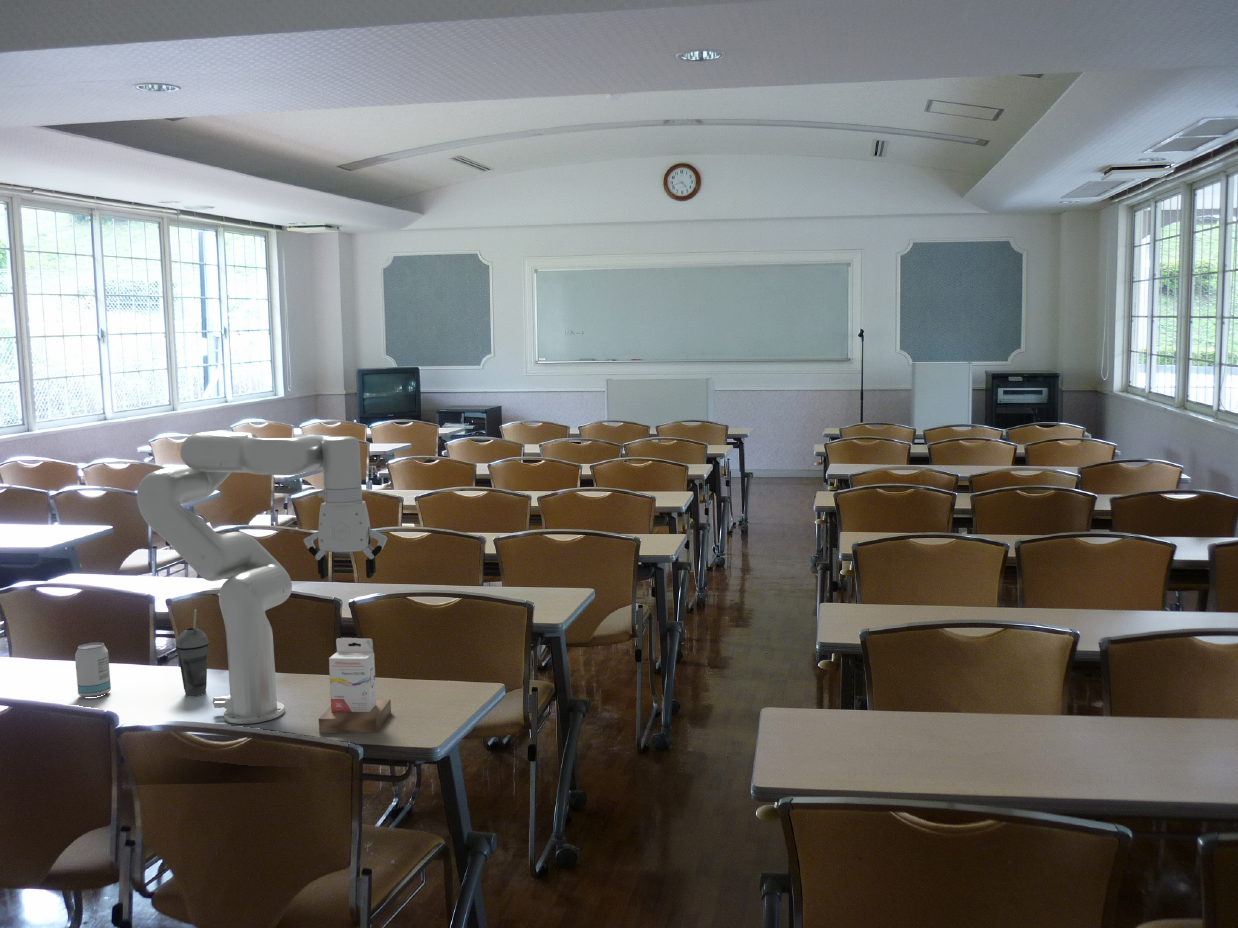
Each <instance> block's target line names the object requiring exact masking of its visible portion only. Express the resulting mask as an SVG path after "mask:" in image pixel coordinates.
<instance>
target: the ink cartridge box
mask: <svg viewBox="0 0 1238 928" xmlns="http://www.w3.org/2000/svg"><path fill="white" fill-rule="evenodd" d="M335 642H336V643H335V644H336V645H335V646H336V652H335V653H334V654H332V655H331V656H330V657H328V663H329V664H328V666H329V667H328V669H329V672H328V673H329V689H330V690H329V694H330V706H331V711H332V712H370V711H371V710H372V709H373V708H374V707H375V705H376V699H377V688H376V686H377V685H376V667H375V666H376V665H375V662H376V661H375V653H374V643H373V638H353V637H352V638H350V637H349V638H348V637H347V638H339V637H338V638H336V639H335ZM354 643H355V644H357V645H358V644H360V646H359V645H358V646H357V645H356V646H355V645H354V646H353V645H351V644H354ZM350 645H351V646H350Z"/></svg>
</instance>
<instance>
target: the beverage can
mask: <svg viewBox="0 0 1238 928" xmlns="http://www.w3.org/2000/svg"><path fill="white" fill-rule="evenodd" d="M74 658H75V659H74V661H75V669H76V671H75V672H76V684H77V686H76V687H77V694H78V696H80V697H82V698H84V697H97V696H101V695H104V694H106V693H107V694H108V693H109V692H110V691H111V690H112V687H111V685H112V684H111V673H110V659H109V650H108V649H107V647H106V646H105V643H104V642H89V643H83V644H81V645H79V646H77V649H76V652H75V655H74ZM107 694H106V695H107Z"/></svg>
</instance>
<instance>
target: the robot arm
mask: <svg viewBox="0 0 1238 928" xmlns="http://www.w3.org/2000/svg"><path fill="white" fill-rule="evenodd" d="M360 449H361V447H360V441H359V440H358V438H357V437H355V436H348V435H346V436H327V435H326V436H325V435H319V434H311V435H305V436H303V435H302V436H295V437H289V438H259V437H258V435H256V433H253V432H233V431H230V430H228V429H227V430H225V429H221V430H220V429H219V430H212V431H211V430H210V431H202V432H197V433H194V434H191V435H190V436H188V437H187V438H185V440H184V441H183V442H182V445H181V446H180V449H179V451H180V453H179V454H180V458H181V460H182V462H183V464H185V465H179V466H171V467H165V468H161V469H157V470H154V471H152V472H150V473H148V474H146V476H144V477H143V478H142V479H141V481H140V482H139V485H138V487H137V494H136V502H137V505H138V510H139V512H140V514H141V516H142V518H143V520H144V521H145V522H146V524H147V525H148V526H149V527H150V528H151V529H152V530H153V531H154V532H155V533H157V535H159V537H161V538H162V539H164V541H166V542H167V543H168V544H169V545H170V546H171V547H172V548H173V550H175V552H176V553H177V554H178V555H179V556H180V557H181V558H182V559H183V561H185V562H186V563H187V565H189V566H190V568H192V570H194V572H196V574H198V575H199V576H200V577H201V578H202V579H204V580H205V581H209V582H218V581H221V580H224V579H227V578H228V579H227V580H226V581H225V582H224V583H223V584H222V585H221V587H220V590H219V593H218V601H219V607H220V610H221V615H222V618H223V622H224V628H225V641H226V650H227V651H226V652H227V653H226V654H227V664H228V678H229V679H228V680H229V681H228V684H229V695H227V696H222V695H221V696H219V695H217V696H214V697H213V698H212V704H213V706H214V707H213V708H215V709H217V708H218V709H220V708H224V709H225V711H224V713H223V718H224V720H225V722H228V723H230V724H236V725H247V724H248V725H249V724H259V723H263V722H267V721H271V720H274V719H276V718H279V717H280V716H282V715H283V714H284V713H285V711H286V706H285V704H284V703H282V702H280V701H278V698H277V681H276V679H277V678H276V667H275V666H276V664H275V663H276V662H275V651H274V649H275V648H274V647H275V646H274V636H273V634H274V633H273V628H272V625H271V624H270V621H269V619H268V617H267V614H266V611H268V610H269V609H272V608H273V609H274V608H275V607H277V606H279V605H282V604H283V603H285V602H286V601H287V600H288V599H289V597H290V596H291V593H292V589H293V586H292V585H293V584H292V580H291V577H290V574H289V573H288V572H287V570H286V568H285V567H284V566H283V565H281V564H280V562H279V561H278V560H277V559H276V558H275V557H274V556H273V554H272V555H271V553H270V552H269V551H268V550H267V549H266V548H265V547H264V546H263V545H262V544H261V543H260V542H259V541H258V540H257V539H256V538H255V537H253V536H251V535H250V534H248V533H246V532H242V531H232V532H226V533H223V534H221V533H218V532H216V531H215V530H214V529H212V528H211V527H210V526H209V525H208V524H207V522H206V521H205V520H204V519H202V517H200V516H198V514H195V512H192V511H190V510H189V509H187V508H185V507H183V506H182V505H187V504H192V503H196V502H200V501H202V500H205V499H207V498H208V497H210V496H211V495H212V494H213V493H214V492H215V491H216V490H217V489H218V488H219V487H220V486H221V484H222V483H223V482H224V481H225V480H226V479H227V478H228V477H229V476H230V474H232V473H243V474H244V473H247V474H253V475H263V476H264V475H265V476H266V475H267V476H294V475H296V476H297V475H301V474H305V473H312V472H316V471H322V470H323V489H322V490H318V491H317V497H318V498H321V499H323V501H324V502H323V503H320V507H319V513H318V514H319V516H318V530H317V531H316V532H314V533H312V534H311V535H308V536H307V537H305V538H304V539H303V543H304V544H305V547H306V548H307V549H308V552H309V553H310V554H311V555H312V556H313V557H314V558H315V560H316V561H317V574H318V575H319V577H320V580H323V579H326V578H327V577H329V563H328V557H326V556H327V554H328V553H329V552H330V553H331V552H333V553H335V552H336V553H337V552H338V553H339V552H361V551H362V553H364V556H366V558H367V559H365V575H366V578H367V579H371V578H372V577H373V576H375V575H374V574H375V573H376V571H377V568H376V567H377V566H376V557H377V556H378V555H379V553H381V551H383V549H384V546H385V544H386V543H387V541H388V536H387V535H385V534H382V533H380V532H378V531H376V530H374V529H372V528H371V522H370V516H369V512H368V507H367V503H366V500H365V501H364V500H363V490H362V489H363V488H362V470H361V450H360ZM372 538H373V539H375V540H377V544H376V546H375V548H374V547H372V546H371V545H372ZM317 539H318V541H317V542H318V547H317V546H316V545H315V544H314V541H315V540H317Z"/></svg>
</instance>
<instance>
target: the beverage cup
mask: <svg viewBox="0 0 1238 928" xmlns="http://www.w3.org/2000/svg"><path fill="white" fill-rule="evenodd" d="M197 610H198V609H196V608H194V611H193V623H192V625H193V627H190V628H186V629H184V630H183V631H182V632H180V634H179V635H178V636H177V640H176V641H175V642H176V644H175V645H176V646H175V649H176V654H177V656H178V660H179V665H180V673H181V678H182V683H183V689H184V693H185V694H184V695H185V696H186V697H188V696H194V697H199V695H200V696H203V695H205V694H206V693H207V684H208V681H207V680H208V679H207V678H208V677H207V675H208V653H209V644H210V643H209V639H208V636H207V634H206V633H205V632H204V631H203V630H201V629H200V628H197V626H196V625H197V624H196V623H197ZM202 694H203V695H202Z"/></svg>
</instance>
